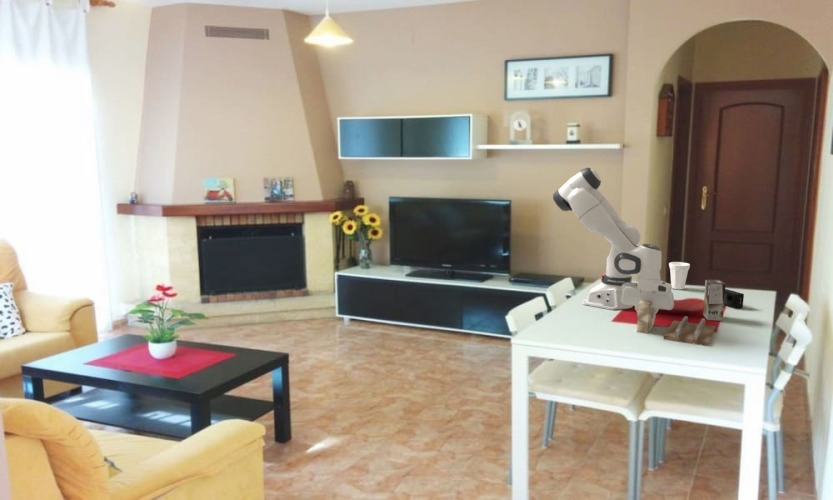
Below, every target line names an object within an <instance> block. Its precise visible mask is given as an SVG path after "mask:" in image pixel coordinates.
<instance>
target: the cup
mask: <svg viewBox="0 0 833 500" xmlns="http://www.w3.org/2000/svg"><path fill="white" fill-rule="evenodd" d="M668 266H669V271H670V283H671V285H672V289H674V290H685V287H686V281H687V277H688V272H689V270H690V268H691V264H690V263H689V262H688V263H687V262H683V261H671V262H669V263H668Z"/></svg>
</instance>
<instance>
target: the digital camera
mask: <svg viewBox="0 0 833 500" xmlns="http://www.w3.org/2000/svg"><path fill="white" fill-rule="evenodd" d="M744 298H745V294H744V293H742V292H738V291H735V290H731V289H727V288H725V297H724V307H727V308H731V309H733V310H741V309H743V308H744Z"/></svg>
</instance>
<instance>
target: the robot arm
mask: <svg viewBox="0 0 833 500" xmlns="http://www.w3.org/2000/svg"><path fill="white" fill-rule="evenodd" d="M601 182H602V180H601V177H600V174H599V173H598V172H597V171H596V170H595V169H593V168H591V167H585V168H582V169H581V170H580V171H579V172H577V173H576V174H574V175H573V176H572V177H570V178H569V179H568V180H567V181H565V182H564V184H563V185H561V187H559V189H557V190H555V192H554V193H553V195H552V199H553V201H554V205H555V206H556V207H557V208H558V209H560V210H561V211H563V212H569V211H573V214H574V215H575V217H576V218H577V220H578V221H579V222H580V224H582V226H583V227H584V228H585V229H586V230H588V231H589V232H590V233H595V234H598V235H601V236H603V237H604V239H605V240H606V241H607V242H608V243H610V244H611V248H610V251H609V254H608V255H607V257H606V267H605V268H606V269H605V273H603V274H602V275H601V277H600V280H601V282H599V283H598V284H596V285H595V286H593V287H592V288H590V290H589V291H588V295H587V297H586V298H584V299H583V300H582V305H585V306H589V307H595V308H601V309H605V310H610V311H611V310H612V311H616V310H627V309H632V308H633V307H634V310H635V311H636V313H637V314H636V315H637V318H638V305H639V302H640V301H641V300H646V301H652V303H651V308H654V311H655V313H654V314H653V313H652V314H651V318H652V319H654V320H655V319H656V317H657V316H656V314H657V313H658V311H659V310H667V311H671V310H673V309H674V306H675V298H674V292H673V291H672V289H673V288H672V285H671V284H670V283H668V282H666V281H664V280H661V273H660V272H661V269H662V251H661V249H660V248H659V246H656V245H654V244H650V243H642V244H640V245H639V246H638V244H639V242H640V240H641V234H640V231H639V230H638V228H636V227H635V226H634V225H633V224H630V223H627V222H626V221H624V220H622V218H620V216H619V215H618V213H617V211H616V208H615V207H614V206H613V205H612V204H611V202H610V201H608V199H607V198H606V197H605V196H604V195H603V193H601V192H600V191H599V190H598V189H599V187H600V186H601ZM632 275H637V279H636V282H633V276H632Z"/></svg>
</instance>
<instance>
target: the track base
mask: <svg viewBox="0 0 833 500" xmlns="http://www.w3.org/2000/svg"><path fill="white" fill-rule="evenodd" d="M688 319H689V317H688V316H686V315H684V317H683V318H682V320H681V321H679V320H673V321H672V323H671V324H670V326H668V329H666V331H665V333H664V334H663V337H662V338H663V340H668V341H674V342H681V343H686V342H687V343H688V344H693V343H695V344H694V345H700V344H702V346H707V345H708V344H710V342H711V339H712V338H713V335H714V334H715V331H716V326H715V325H711V324H710V325H709V324H706V318H701V319H700V320H699V321H700V322H699V323H695V322H694V323H693V322H688V321H689V320H688ZM708 346H709V345H708Z"/></svg>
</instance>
